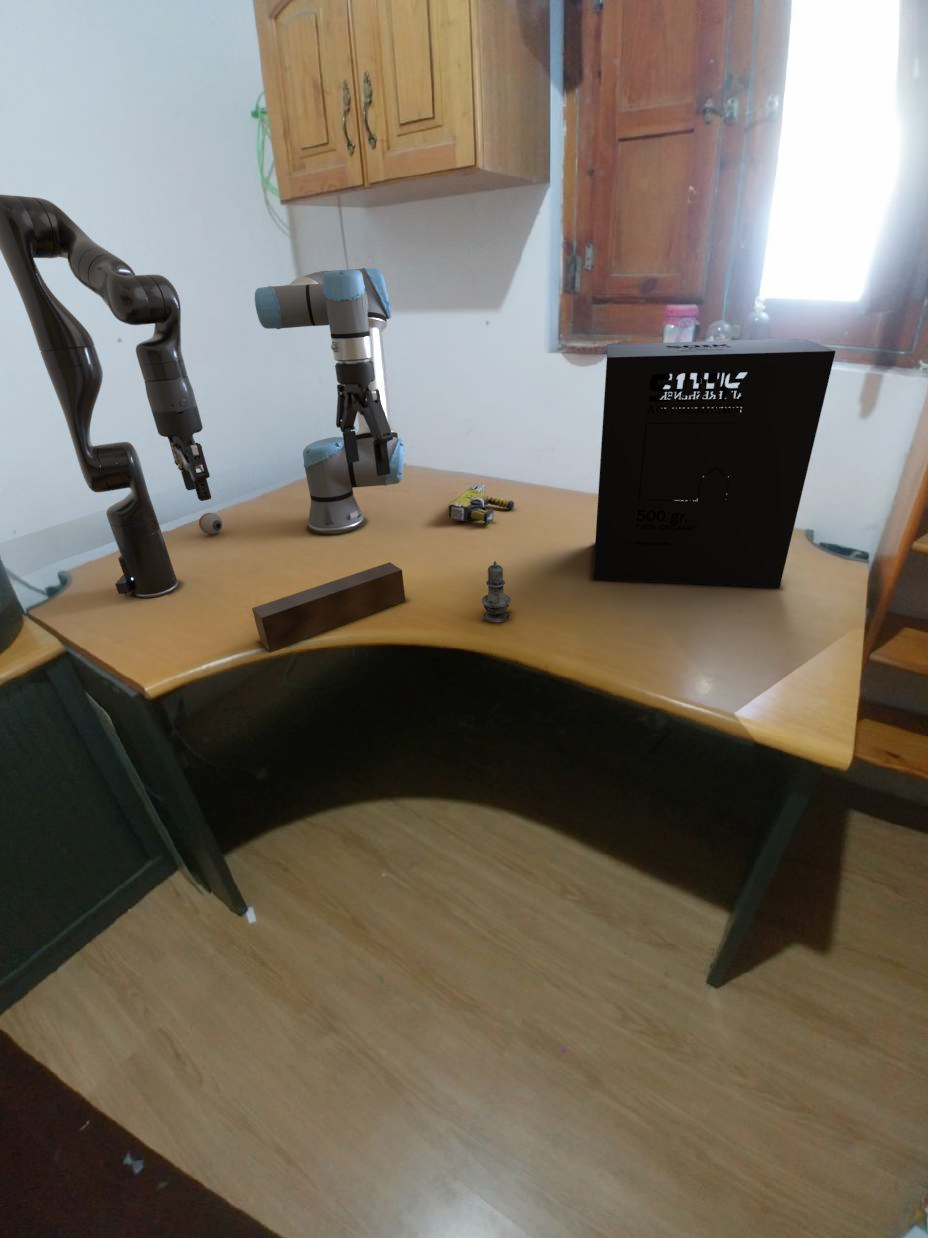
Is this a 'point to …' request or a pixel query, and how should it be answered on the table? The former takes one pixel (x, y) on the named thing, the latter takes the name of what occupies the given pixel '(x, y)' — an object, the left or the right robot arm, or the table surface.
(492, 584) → the grey tall turned piece
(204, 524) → the eyeball
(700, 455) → the cardboard box
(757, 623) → the table surface
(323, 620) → the plank
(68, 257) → the left robot arm
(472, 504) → the toy gun
